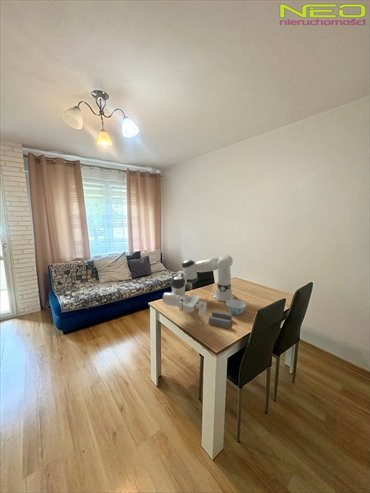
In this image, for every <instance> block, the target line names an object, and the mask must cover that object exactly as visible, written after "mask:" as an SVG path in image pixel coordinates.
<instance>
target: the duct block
mask: <svg viewBox="0 0 370 493" xmlns="http://www.w3.org/2000/svg"><path fill="white" fill-rule="evenodd" d="M232 320H233V314H232V313H227V312H221V311H216V310H212V312H211V316H209V317H208V325H209V326H210V325H211V326H216V327H219V328H224V329H230V327H231V323H232Z"/></svg>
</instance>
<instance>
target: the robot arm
mask: <svg viewBox="0 0 370 493" xmlns="http://www.w3.org/2000/svg"><path fill="white" fill-rule="evenodd" d="M233 261H234V260H233V258H232V256H231V255H227V254H225V255H220V256H218V257H212V258H207V259H202V260H198V261H193V260H192V259H185V260H183V261H182V263H181V268H182V270H178V271H177V272H176V274H175V275H174V277H173V278H172V279H171V281H170V282H171V292H164V293H163V294H162V303H163V304H165V305H167V306H172V307H177V308H179V309H178V311H179V312H185V313H193V312H194V311H195V310H196V309H199V308H203V305H199V298H200V297H201V296H202V295H196V294H190V296H189V294H188V295H187V294H186V285H187V283H189V284H195V283H196V282H197V281H198V280H199V278H198V277H199V276H198V274H197V273H206V272H212V271H213V272H214V271H217V274H218V275H217V284H216V285H217V286H216V288H215V293H214V295H213V298H214V299H215V300H217V301H220V302H227V301H228V300H235V295H234V293H233V290H232V284H231V279H232V278H231V277H232V275H231V266H232V265H233Z"/></svg>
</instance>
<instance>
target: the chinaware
mask: <svg viewBox="0 0 370 493" xmlns="http://www.w3.org/2000/svg"><path fill="white" fill-rule="evenodd" d="M225 304H226V308H227V310H228V311H229V312H230V314H232V316H239V315H241V314H242V313H244V311H245V310H246V308H247V304H246V302H244V301H243V300H239V299H234V300H228V301H226V303H225Z"/></svg>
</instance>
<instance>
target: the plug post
mask: <svg viewBox="0 0 370 493" xmlns="http://www.w3.org/2000/svg"><path fill="white" fill-rule="evenodd" d="M200 296H201V297H200V298H199V304H198V305H203V308H198V316H199V317H202V318H205V317H206V315H207V303H208V299H207V298H208V297H207V296H203V295H200Z"/></svg>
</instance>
